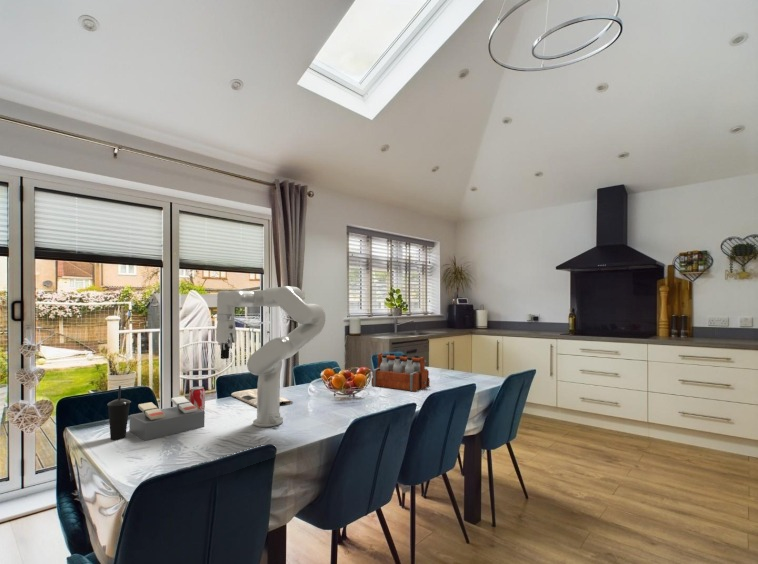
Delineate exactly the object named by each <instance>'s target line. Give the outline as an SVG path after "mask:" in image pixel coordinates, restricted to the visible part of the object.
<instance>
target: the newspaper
mask: <svg viewBox="0 0 758 564" xmlns="http://www.w3.org/2000/svg"><path fill="white" fill-rule="evenodd" d="M230 395H231V396H232V397H233V398H235V397H236V398H235V399H238V400H240V401H242V402H245V404H249V405H251V406H253V407H255V408H257V388H252V389H244V390H239V391H234V392H232V393H231V394H230ZM282 402H283V403H282ZM280 403H282V404H284V403H286V404H285V405H292V404H293V403H294V402H293V401H292V400H289V399H287V398H284V397H282V396H280Z"/></svg>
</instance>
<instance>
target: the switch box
mask: <svg viewBox="0 0 758 564" xmlns="http://www.w3.org/2000/svg"><path fill="white" fill-rule="evenodd" d="M159 409H160V410H161V411H162V412H163V413H164V414H165V416H164V417H162V418H158V419H153V420H150V419H149V418H148V417H147V416H146V415H145V414H144V413H143V412H138V413H133V414H130V415H129V425H128V426H129V430H128V431H129V432H130V433H132V434H133V435H135V436H137V437H138V438H139V439H141V440H143V441H144V442H145V441H150V440H154V439H159V438H163V437H167V436H170V435H175V434H180V433H183V432H188V431H192V430H197V429H200V428H205V417H206V416H205V415H206V413H205V410H204V411H203V410H200V409H198V408H197V411H195V412H190V413H184V412H183V411H182V410H181V409H179V408H178V407H177V406H176V405H175V406H170V407H164V408H159Z"/></svg>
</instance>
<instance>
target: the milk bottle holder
mask: <svg viewBox="0 0 758 564" xmlns="http://www.w3.org/2000/svg"><path fill="white" fill-rule="evenodd" d="M377 354H378V355H377V356H376V359H377V367H376V368H374V369H373V370H372V373H371V374H372V375H371V376H372V377H371V382H370V383H371V386H373V387H383V388H390V389H396V390H403V391H410V392H417V391H418V390H423V389H425V388H426V387H427V386H430V380H431V379H430V377H429V376H430V375H429V372H430V371H429V370H428V368H426V365H425V364H426V363H427V360H426V358H425V357H424V356H421V357H419V356H420V355H414V356H413V357H409V356H408V354H402V355H401V356H400V355H395V353H389V354H383V353H381V352H379V353H377Z"/></svg>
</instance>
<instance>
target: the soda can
mask: <svg viewBox="0 0 758 564" xmlns="http://www.w3.org/2000/svg"><path fill="white" fill-rule="evenodd" d="M204 388H205V387H204V386H202V385H201V386H193V387H190V388H189V392H188V401H189V402H191V403H192V404H193V405H194V406H195V407H196V408H198V409H200V410H203V411H205V409H206V408H205V407H206V391H205V389H204Z"/></svg>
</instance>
